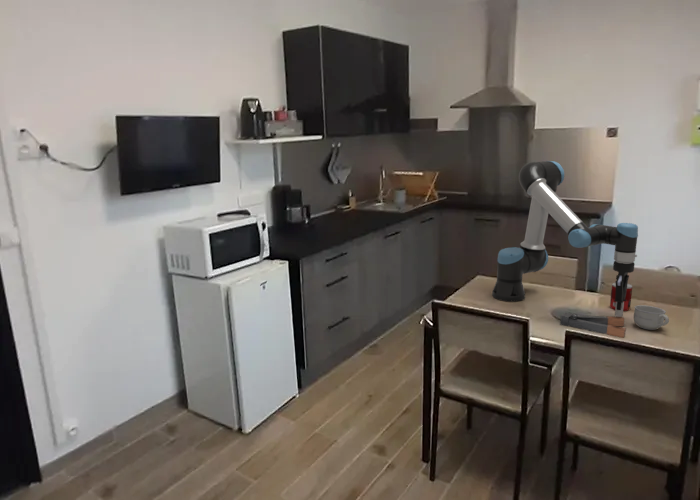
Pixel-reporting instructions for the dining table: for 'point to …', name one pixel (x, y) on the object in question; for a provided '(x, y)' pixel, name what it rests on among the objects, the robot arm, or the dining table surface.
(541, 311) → the dining table surface
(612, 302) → the canned food
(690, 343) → the dining table surface
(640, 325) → the teacup
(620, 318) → the arm
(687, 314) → the dining table surface
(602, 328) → the tongs base
